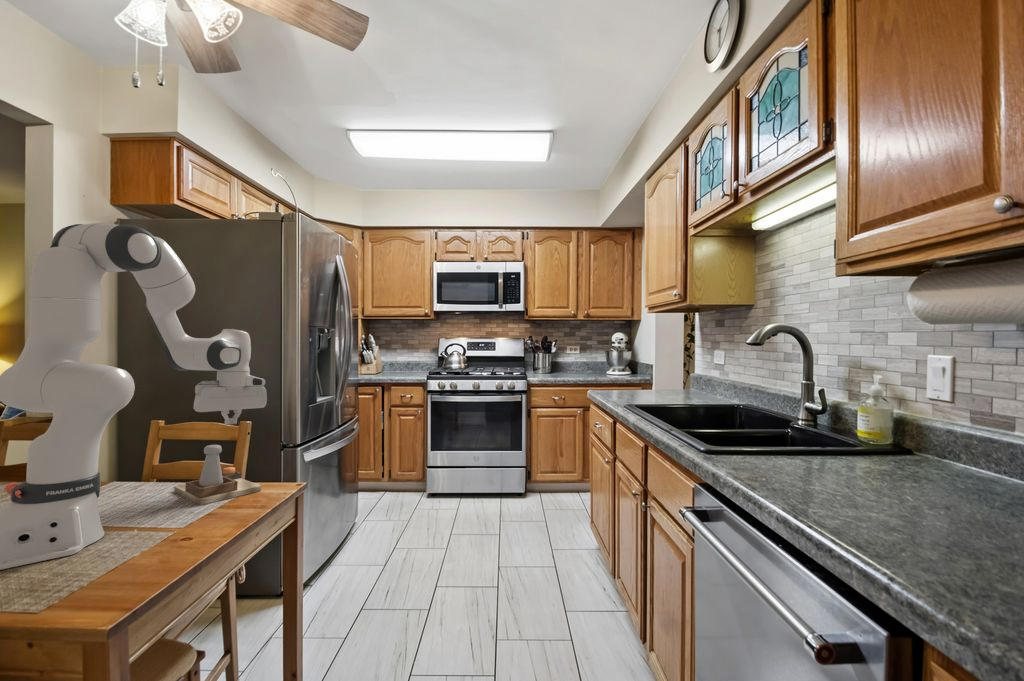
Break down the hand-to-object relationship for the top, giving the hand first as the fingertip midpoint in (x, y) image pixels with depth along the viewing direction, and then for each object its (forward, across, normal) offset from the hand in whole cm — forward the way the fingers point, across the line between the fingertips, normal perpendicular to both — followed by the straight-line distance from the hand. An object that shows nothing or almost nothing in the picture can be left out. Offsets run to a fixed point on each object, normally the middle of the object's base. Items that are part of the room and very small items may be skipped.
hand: (230, 424), depth 142 cm
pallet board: (+19, -5, -6) cm, 20 cm away
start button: (+16, 0, 0) cm, 16 cm away
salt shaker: (+17, -8, -9) cm, 21 cm away
